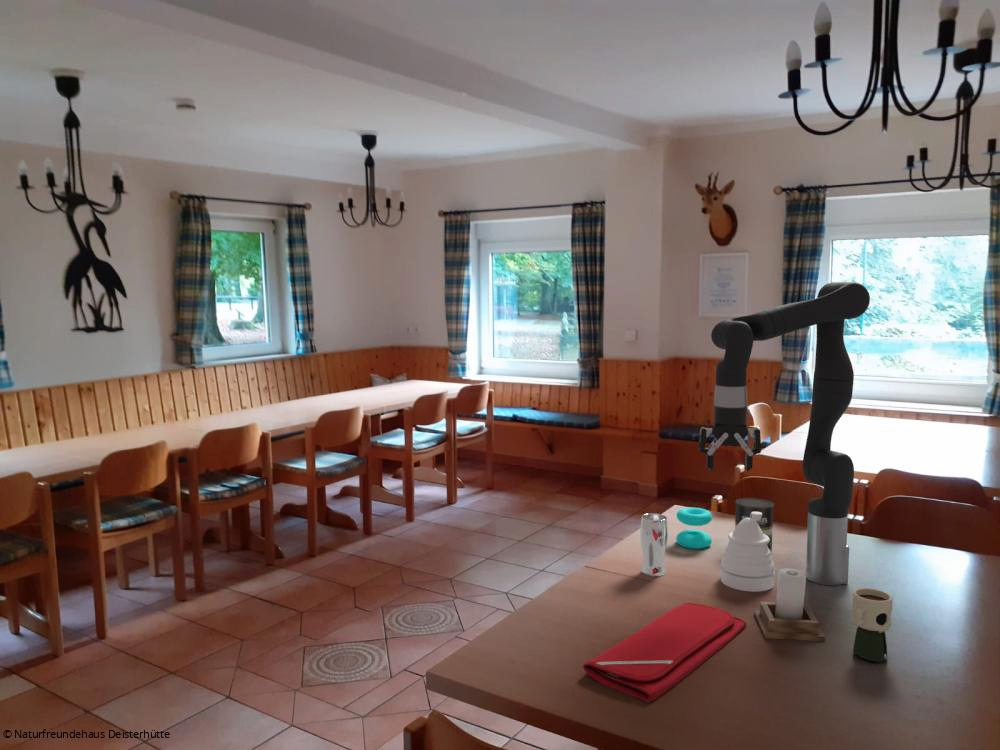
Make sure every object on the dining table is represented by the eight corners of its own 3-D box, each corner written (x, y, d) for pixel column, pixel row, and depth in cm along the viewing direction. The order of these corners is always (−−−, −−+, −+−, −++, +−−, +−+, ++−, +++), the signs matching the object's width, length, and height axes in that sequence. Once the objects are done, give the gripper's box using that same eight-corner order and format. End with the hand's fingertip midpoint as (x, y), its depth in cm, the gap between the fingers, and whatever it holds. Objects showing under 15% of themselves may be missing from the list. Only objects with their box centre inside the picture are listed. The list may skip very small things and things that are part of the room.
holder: (809, 617, 170) (809, 602, 170) (824, 641, 158) (825, 625, 158) (754, 614, 172) (754, 599, 171) (765, 638, 160) (765, 622, 159)
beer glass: (669, 577, 195) (670, 520, 193) (642, 577, 195) (643, 520, 193) (664, 567, 202) (665, 513, 200) (638, 567, 202) (638, 513, 200)
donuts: (671, 512, 217) (683, 504, 226) (671, 546, 218) (682, 536, 227) (706, 518, 212) (716, 509, 220) (705, 552, 213) (715, 542, 222)
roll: (796, 616, 168) (800, 568, 167) (805, 627, 162) (810, 578, 161) (770, 615, 168) (774, 567, 167) (779, 626, 162) (784, 577, 161)
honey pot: (766, 573, 197) (768, 506, 195) (780, 592, 184) (782, 521, 182) (716, 572, 198) (717, 505, 196) (726, 591, 185) (727, 520, 183)
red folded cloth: (748, 629, 165) (748, 613, 165) (652, 707, 135) (653, 687, 134) (682, 610, 176) (683, 594, 175) (580, 678, 145) (580, 659, 145)
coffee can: (773, 558, 207) (774, 508, 206) (734, 555, 210) (735, 506, 209) (771, 546, 217) (772, 498, 216) (734, 543, 220) (735, 496, 219)
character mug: (873, 672, 145) (876, 607, 144) (838, 658, 151) (840, 595, 150) (901, 655, 152) (904, 593, 150) (866, 642, 157) (869, 582, 156)
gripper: (758, 402, 184) (756, 467, 185) (698, 401, 186) (697, 466, 187) (764, 406, 176) (762, 474, 178) (702, 406, 178) (700, 473, 180)
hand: (729, 470), depth 183 cm, fingers open, 8 cm apart
